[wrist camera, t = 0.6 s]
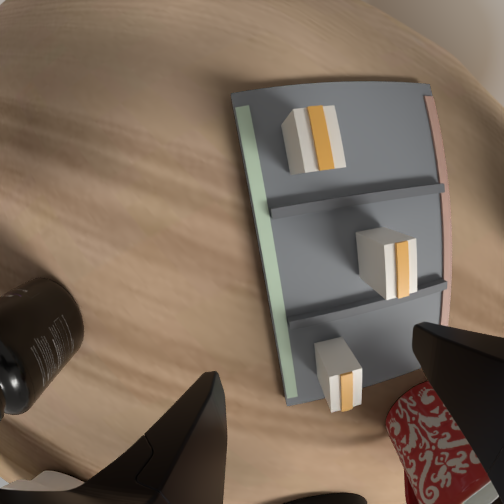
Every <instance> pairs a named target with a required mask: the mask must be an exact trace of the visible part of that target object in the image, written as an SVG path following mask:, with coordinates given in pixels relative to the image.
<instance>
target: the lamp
mask: <svg viewBox="0 0 504 504" xmlns="http://www.w3.org/2000/svg"><path fill="white" fill-rule="evenodd" d="M284 504H367V501H366V499H365V498H364V497H362V496H359V495H356V494H349V493H337V494H325V495H318V496H312V497H307V498H303V499H298V500H294V501H291V502H287V503H284Z"/></svg>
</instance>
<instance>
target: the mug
mask: <svg viewBox="0 0 504 504" xmlns="http://www.w3.org/2000/svg"><path fill="white" fill-rule="evenodd" d="M386 429H387V432H388V434H389V437H390V439H391V441H392V443H393V445H394V447H395V449H396V451H397V454H398V456H399V458H400V461H401V463H402V465H403V467H404V480H405V497H406V503H407V504H491V503H492V502H493V501H494V500H496V499H497V498H498V497H499V495H498V493H497V491H496V489H495V488H494V486H493V484H492V482H491V480H490V479H489V477H488V475H487V473H486V471H485V470H484V468H483V466H482V464H481V463H480V461H479V459H478V458H477V456H476V454H475V453H474V451H473V449H472V448H471V446H470V444H469V443H468V441H467V440H466V438H465V436H464V435H463V433H462V432H461V430H460V428H459V427H458V425H457V424H456V422H455V421H454V419H453V417H452V416H451V414H450V413H449V411H448V410H447V408H446V407H445V405H444V404H443V402H442V401H441V399H440V398H439V396H438V395H437V393H436V392H435V390H434V389H433V387H432V386H431V384H430V383H429V381H427V382H423V383H421V384H419V385H417V386H415V387H413V388H412V389H410V390H409V391H407V392H406V393H405V394H404V395H402V396H401V397H400V398H399V399H398V400H397V401H396V403H395V404H394V405H393V406H392V408H391V409H390V411H389V413H388V415H387V418H386Z"/></svg>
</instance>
